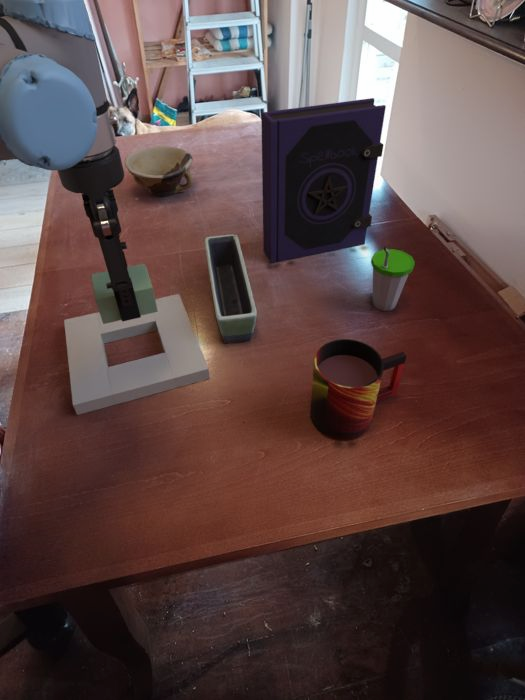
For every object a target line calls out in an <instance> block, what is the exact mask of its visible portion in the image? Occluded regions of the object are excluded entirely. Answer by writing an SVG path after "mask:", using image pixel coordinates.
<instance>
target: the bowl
mask: <svg viewBox="0 0 525 700" xmlns="http://www.w3.org/2000/svg"><path fill="white" fill-rule="evenodd" d="M192 164H193V156H192V154H191V153H190V152H189V151H188V150H186V149H184V148H181V147H177V146H170V145H156V146H155V145H154V146H151V147H150V146H149V147H144V148H141V149H138V150H136V151H133V152H131V153H130V154H128V155H127V156H126V158H124V166H125V169H127V171H128V173H129V174H131V176H132V177H133V180H134V182H136V184H138V185H139V186H141V187H142V188H144V189H145V190H148V192H149V194H151V195H152V196H154V197H158V198H159V197H160V198H164V197H170V196H172V195H174V194H177V193H181V192H185V191H188V190H189V189H190V188H191V187H192V186H193V181H194V180H193V176H192V174H191V170H190V169H191V167H192ZM183 177H184V178H185V180H186V183H184V184H183V183H181V181H182V179H183Z"/></svg>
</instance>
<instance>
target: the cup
mask: <svg viewBox="0 0 525 700" xmlns="http://www.w3.org/2000/svg"><path fill="white" fill-rule="evenodd" d="M370 264H371V266H372V305H373V308H375V309H377V310H378V311H382V312H391V311H393V310H395V308H396V306H397V304H398V301H399V299H400V297H401V294H402V291H403V290H404V286H405V284H406V282H407V280H408V278H409V274H411V273H412V272H413V270H414V268H415V264H416V261H415V260H414V257H413V256H412V255H410V254H409V253H408V252H405V251H403V250H399V249H394V248H387V247H386V246H384V247H382V249H381V250H379V251H375V252H374V254H373V255H372V257H371V260H370Z"/></svg>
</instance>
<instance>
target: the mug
mask: <svg viewBox="0 0 525 700" xmlns="http://www.w3.org/2000/svg"><path fill="white" fill-rule="evenodd" d="M406 359H407V354H406V353H405V352H404V351H400V352H398V353H397V352H396V353H395V354H392V355H389V356H386V357H384V358H382V357H381V354H380V353H379V352H378V351H377V350H376V349H375V348H374V347H372V346H371V345H369V344H367V343H365V342H363V341H360V340H356V339H350V338H342V339H340V338H339V339H335V340H332V341H329V342H326V343H324V344H323V345H322V346H321V347H319V349H318V350H317V351H316V354H315V356H314V359H313V360H314V362H313V374H312V384H311V396H310V408H309V418H310V421H311V424H312V426H313V427H314V428H315V430H317V432H318V433H320V434H321V435H323V436H324V437H326V438H327V439H330V440H334V441H339V442H348V441H349V442H350V441H353V440H357V439H358V438H361V437H362V436H364V435H365V434H366V433H367V432H368V430H369V429H370V428H371V424H372V422H373V416H374V412H375V407H376V404H377V402H379V401H381V400H385V399H387V398H390V397H393V396H396V395H397V394H398V391H399V387H400V383H401V380H402V378H401V377H402V375H403V371H404V366H405V364H406V361H407V360H406ZM392 368H393V371H392V373H391V377H390V381H389V384H388V385H387V386H384V387H382V388H380V385H381V382H382V378H383V375H384V371H386V370H389V369H392Z"/></svg>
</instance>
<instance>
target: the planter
mask: <svg viewBox="0 0 525 700" xmlns="http://www.w3.org/2000/svg"><path fill="white" fill-rule="evenodd" d="M238 236H239V235H237V234H232V233H231V234H224V235H223V234H222V235H213V236H207V237H204V248H205V253H206V254H205V255H206V261H207V268H208V275H209V281H210V287H211V294H212V299H213V300H212V301H213V307H214V312H215V318H216V322H217V325H218V328H219V331H220V334H221V337H222V339H223V340H222V341H223V342H224V344H233V343H239V342H240V343H241V342H249V341H252V339H253V336H254V333H255V332H254V331H255V328H256V323H257V317H258V313H257V308H256V303H255V298H254V295H253V290H252V286H251V284H250V279H249V275H248V271H247V266H246V263H245V259H244V255H243V252H242V247H241V243H240V240H239V237H238Z"/></svg>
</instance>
